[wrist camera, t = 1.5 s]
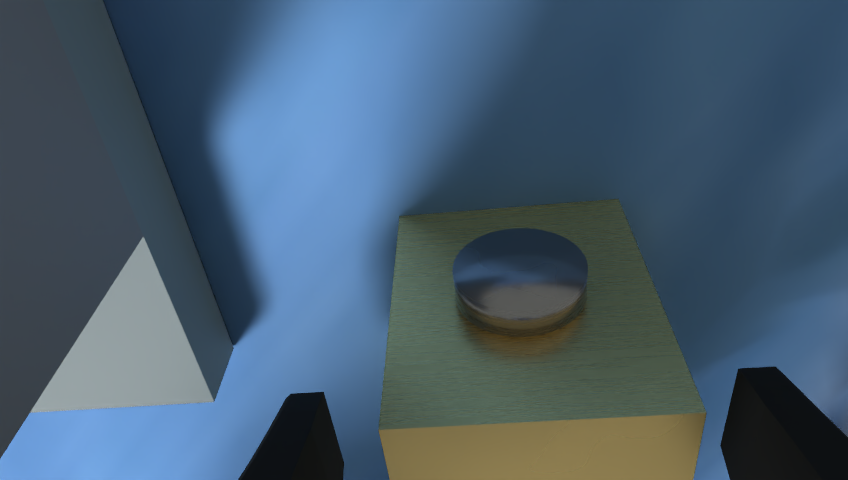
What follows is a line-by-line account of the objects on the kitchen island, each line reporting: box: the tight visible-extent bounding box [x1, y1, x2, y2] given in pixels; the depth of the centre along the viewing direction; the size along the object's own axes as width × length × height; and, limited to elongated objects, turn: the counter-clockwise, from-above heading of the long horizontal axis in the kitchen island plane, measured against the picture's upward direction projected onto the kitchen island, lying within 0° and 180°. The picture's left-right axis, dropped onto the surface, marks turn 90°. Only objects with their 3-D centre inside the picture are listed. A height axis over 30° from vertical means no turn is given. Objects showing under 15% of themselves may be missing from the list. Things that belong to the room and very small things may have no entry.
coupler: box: [379, 199, 706, 480], centre depth 12 cm, size 4×7×5 cm, turn 6°
